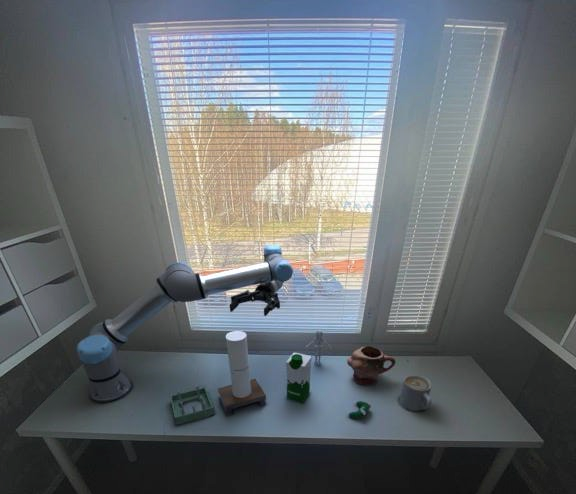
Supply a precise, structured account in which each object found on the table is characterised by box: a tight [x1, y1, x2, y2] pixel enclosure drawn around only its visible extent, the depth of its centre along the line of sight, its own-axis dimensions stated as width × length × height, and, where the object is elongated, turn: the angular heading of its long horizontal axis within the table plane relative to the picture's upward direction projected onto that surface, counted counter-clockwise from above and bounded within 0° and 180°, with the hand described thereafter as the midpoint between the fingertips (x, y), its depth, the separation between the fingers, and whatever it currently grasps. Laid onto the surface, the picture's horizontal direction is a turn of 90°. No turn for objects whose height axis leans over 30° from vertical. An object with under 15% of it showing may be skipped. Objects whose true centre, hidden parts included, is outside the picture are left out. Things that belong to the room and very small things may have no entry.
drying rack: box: [169, 385, 215, 426], centre depth 124 cm, size 14×14×7 cm
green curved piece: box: [348, 400, 372, 419], centre depth 122 cm, size 9×4×6 cm
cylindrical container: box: [225, 330, 251, 398], centre depth 119 cm, size 7×7×25 cm
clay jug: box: [346, 345, 396, 386], centre depth 138 cm, size 20×12×14 cm, turn 92°
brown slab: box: [217, 378, 267, 416], centre depth 128 cm, size 12×16×5 cm
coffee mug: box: [398, 374, 433, 412], centre depth 124 cm, size 13×10×10 cm
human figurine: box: [305, 329, 332, 366], centre depth 146 cm, size 12×4×18 cm, turn 90°
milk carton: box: [285, 352, 313, 404], centre depth 126 cm, size 9×9×20 cm
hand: (247, 310), depth 120 cm, fingers open, 13 cm apart
